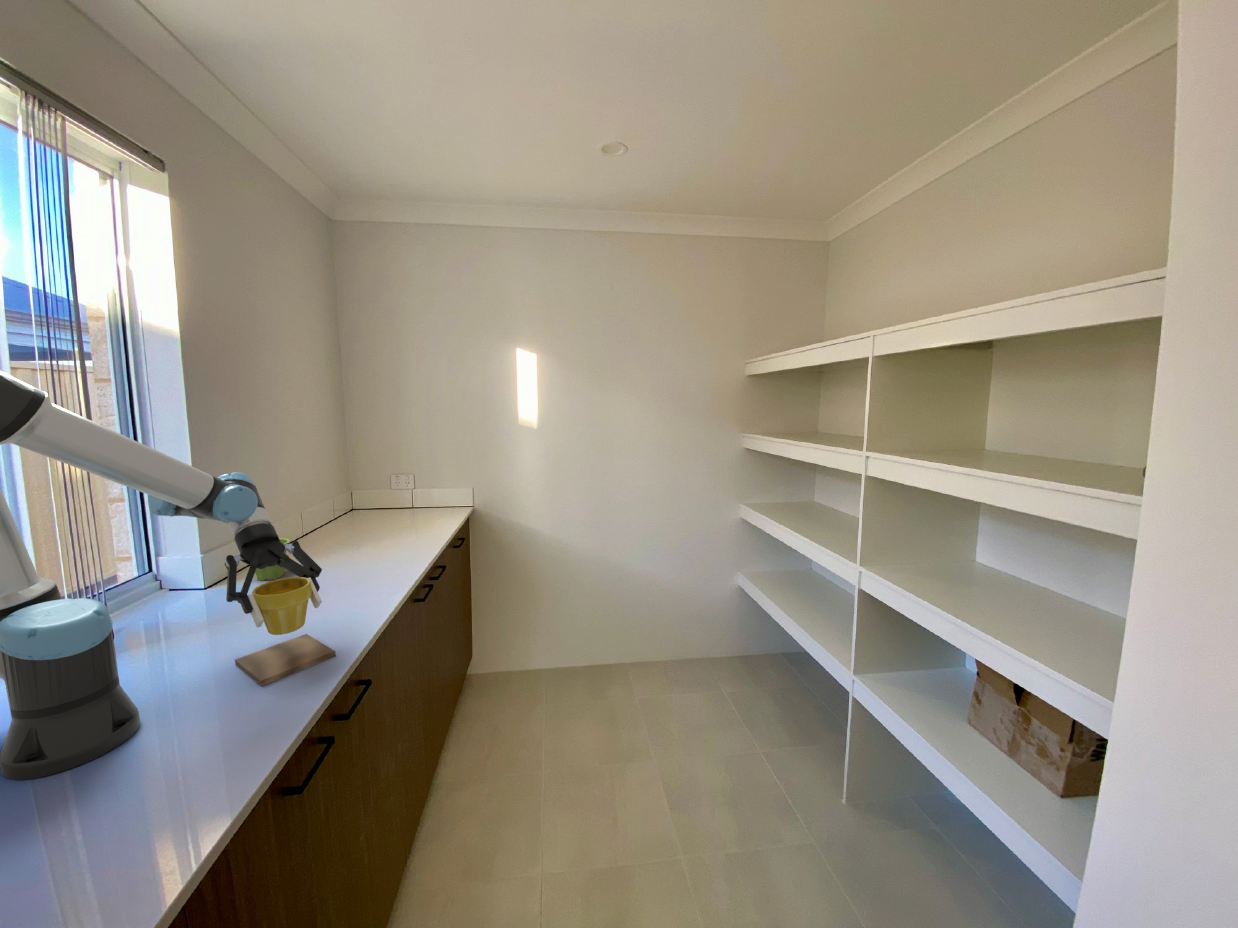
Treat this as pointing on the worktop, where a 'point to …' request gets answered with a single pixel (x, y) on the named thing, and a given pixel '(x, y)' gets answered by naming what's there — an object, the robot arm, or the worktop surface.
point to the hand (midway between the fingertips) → (290, 613)
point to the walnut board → (284, 659)
